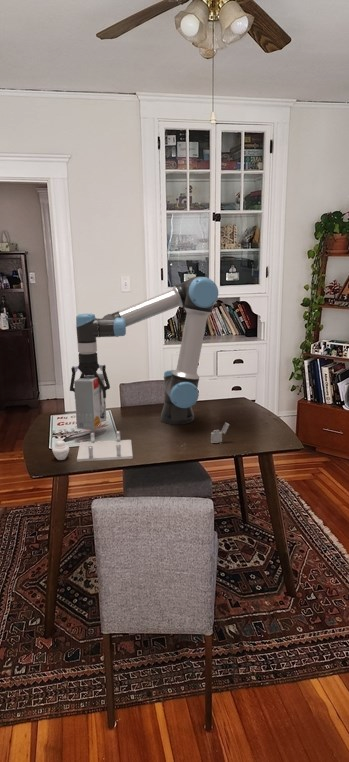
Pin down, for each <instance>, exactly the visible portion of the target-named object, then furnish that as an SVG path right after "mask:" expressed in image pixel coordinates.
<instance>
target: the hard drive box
mask: <svg viewBox="0 0 349 762" xmlns="http://www.w3.org/2000/svg"><path fill="white" fill-rule="evenodd" d="M98 375H99V378H100V379H101V381H102V382H103V384H104V386H106V383H105V379H104V376H103V373H98ZM73 388H75V393H74V400H75V417H76V418H75V419H76V429H80V430H81V429H82V430H95V429H96V428H98V427H99V425H101V423H103V422H104V421H106V420H107V405H106V401H107V400H106V398H104V407H102V400H101V390H102V388H101V386H100V385H99V383H98V377H97V378H95V376H94V375H87V376H85V375H84V377H83V378H80V377H79V378H77V379H75V380H74V386H73Z"/></svg>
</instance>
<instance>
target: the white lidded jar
mask: <svg viewBox="0 0 349 762" xmlns="http://www.w3.org/2000/svg"><path fill="white" fill-rule="evenodd" d="M69 452H70V447H69V445H67V443H66V442H65V441H64V440H57V441H55V445H54V446H53V447H52V453H53V455H54V457H55V458H56V459H57V460H58V461H63V460H66V459H67V457H68V455H69Z"/></svg>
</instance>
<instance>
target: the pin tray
mask: <svg viewBox="0 0 349 762" xmlns="http://www.w3.org/2000/svg"><path fill="white" fill-rule="evenodd" d="M95 437H96V435H95V432H94V431H92V432H90V441H80V443H79V447H78V453H77V457H76V462H79V463H80V462H96V461H97V462H99V461H115V460H131V459H134V458H133V456H134V455H133V447H132V439H121V431H120V430H116V431H115V439H116V440H98V441H96V439H95Z"/></svg>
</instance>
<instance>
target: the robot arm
mask: <svg viewBox="0 0 349 762" xmlns="http://www.w3.org/2000/svg"><path fill="white" fill-rule="evenodd" d="M218 296H219V289H218V286H217V284H216V282H214V280H212V279H211V278H209V277H206V276H193V277H190V278H189V279H187V280H185V281H182V282H181V283H179V284H176V285H174V286H173V287H172V289H170V290H168V291H166V292H163V293H161V294H158V295H155V296H153V297H150V298H148V299H144V300H143V301H139V302H138V303H135V304H132V305H129V306H128V307H125V308H123V309H120V310H117V311H116V312H112V313H108V314H106V315H104V316H103V317H101V318H96V316H95V314H94V313H79V314H77V315H76V318H75V319H76V322H75V323H76V324H75V328H76V329H75V330H76V339H77V341H76V342H77V352H78V354H77V355H78V366H71V379H70V386H69V391H70V392H74V393H73V394H75V387H74V381H76V373H77V371H80V373H81V374H80V376H79V378H83V377H84V375H85V376H87V375H94V376H95V378H97V377H98V383H99V385H100V386H101V388H102V390H101V400H102V407H104V398H105V399H106V398H107V390H110V388H111V385H110V381H109V378H108V374H107V372H106V365H105V364H103V365H102V364H99V363H98V359H99V358H98V352H97V351H98V346H97V345H98V344H97V338H119V337H124V336H126V334H127V327H130V326H132V325H134V324H136V323H140V322H142V321H145V320H147V319H150V318H152V317H155V316H157V315H160V314H162V313H165V312H168V311H170V310H173V309H175V308H177V307H180V308H184V310H185V312H186V316H185V322H184V325H183V326H184V327H183V333H182V338H181V343H180V348H179V349H180V350H179V354H178V360H177V365H176V369H172V370H171V369H170V370H165V372H164V374H163V381H164V383H163V384H164V385H163V388H164V392H163V393H164V404H163V407H162V410H161V414H160V420H161V422H162V423H165V424H168V425H186V424H190V423H192V422H194V421H195V413H194V410H193V408H192V406H195V404H196V403H197V401H198V399H199V395H200V394H199V393H200V392H199V389H198V388H199V381H200V376H199V374H198V369H199V361H200V357H201V353H202V347H203V341H204V337H205V336H204V335H205V330H206V327H207V320H208V317H209V316H210V315H211V314H213V309H214V305H215V303H216V302H217V300H218V298H219V297H218ZM98 369H100V371H101V373H102V374H103V376H104V382H105V386H104V384H103V382H102V381H101V379H100V378H99V375H98V374H99V372H98ZM193 420H194V421H193Z"/></svg>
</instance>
